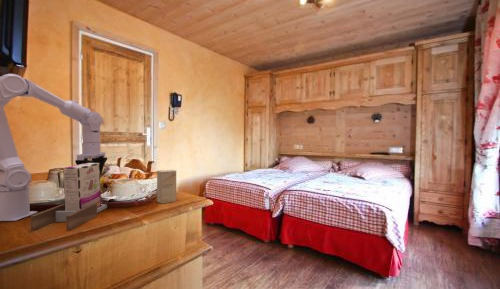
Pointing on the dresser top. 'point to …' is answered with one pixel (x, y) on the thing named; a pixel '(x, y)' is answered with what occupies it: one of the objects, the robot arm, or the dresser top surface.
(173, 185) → the skincare box
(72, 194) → the candy bar box
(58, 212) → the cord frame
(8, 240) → the dresser top surface
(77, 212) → the shelf lane
